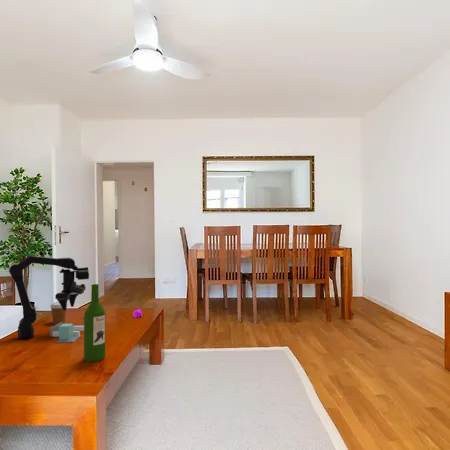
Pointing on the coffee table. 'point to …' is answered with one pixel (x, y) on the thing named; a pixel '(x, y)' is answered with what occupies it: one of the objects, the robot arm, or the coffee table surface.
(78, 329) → the channel
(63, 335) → the block
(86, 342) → the wine bottle
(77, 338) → the coaster
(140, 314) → the crystal
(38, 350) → the coffee table surface
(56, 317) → the disposable coffee cup
